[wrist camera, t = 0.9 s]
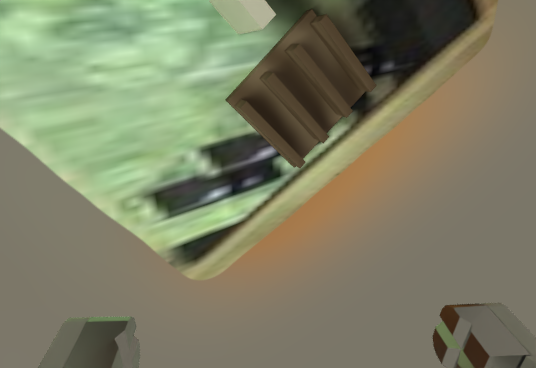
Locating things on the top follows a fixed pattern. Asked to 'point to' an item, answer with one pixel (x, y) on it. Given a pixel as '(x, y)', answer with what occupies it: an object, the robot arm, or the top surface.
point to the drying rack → (302, 87)
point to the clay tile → (244, 14)
